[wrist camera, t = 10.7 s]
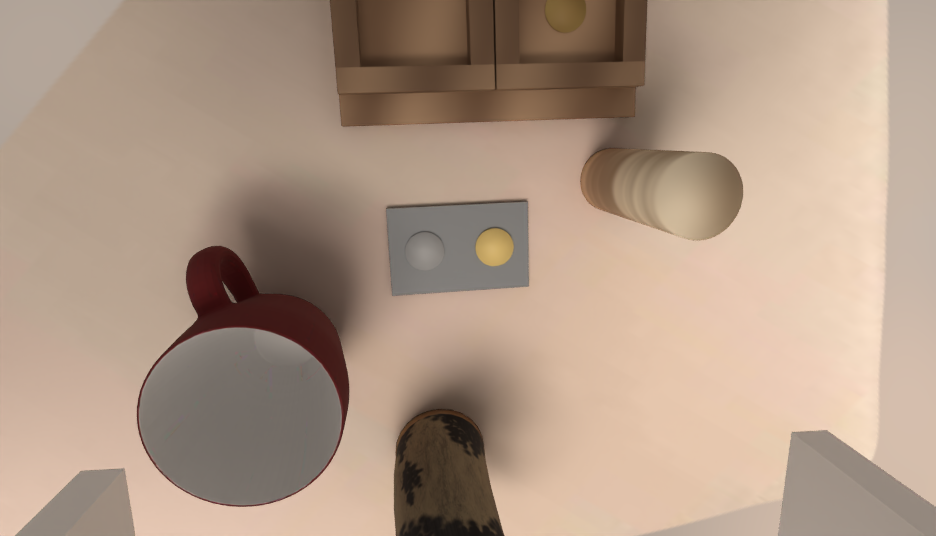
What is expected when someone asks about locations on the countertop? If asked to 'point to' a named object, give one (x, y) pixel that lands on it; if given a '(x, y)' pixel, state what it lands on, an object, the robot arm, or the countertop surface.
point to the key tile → (458, 247)
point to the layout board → (487, 59)
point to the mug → (244, 391)
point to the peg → (665, 189)
